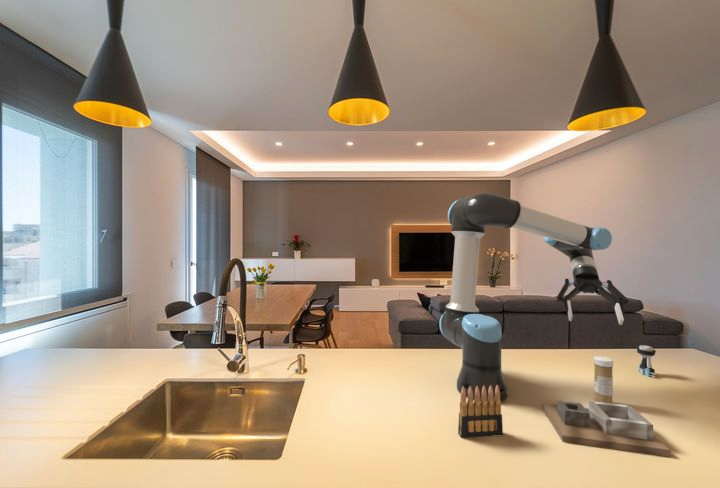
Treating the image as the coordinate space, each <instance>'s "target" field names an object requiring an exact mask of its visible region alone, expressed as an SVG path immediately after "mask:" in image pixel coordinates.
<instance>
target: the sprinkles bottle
mask: <svg viewBox="0 0 720 488" xmlns="http://www.w3.org/2000/svg"><path fill="white" fill-rule="evenodd" d="M593 363H594V377H593V378H594V379H593V382H594V383H593V384H594V385H593V386H594V387H593V390H594V399H593V401H594V402H603V403H612V404H614V403H613V394H614V393H613V392H614V390H613V389H614V387H613V386H614V378H613V377H614V376H613V367H614V360H613V359H612V358H611V357H608V356H603V355H594V356H593Z"/></svg>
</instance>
